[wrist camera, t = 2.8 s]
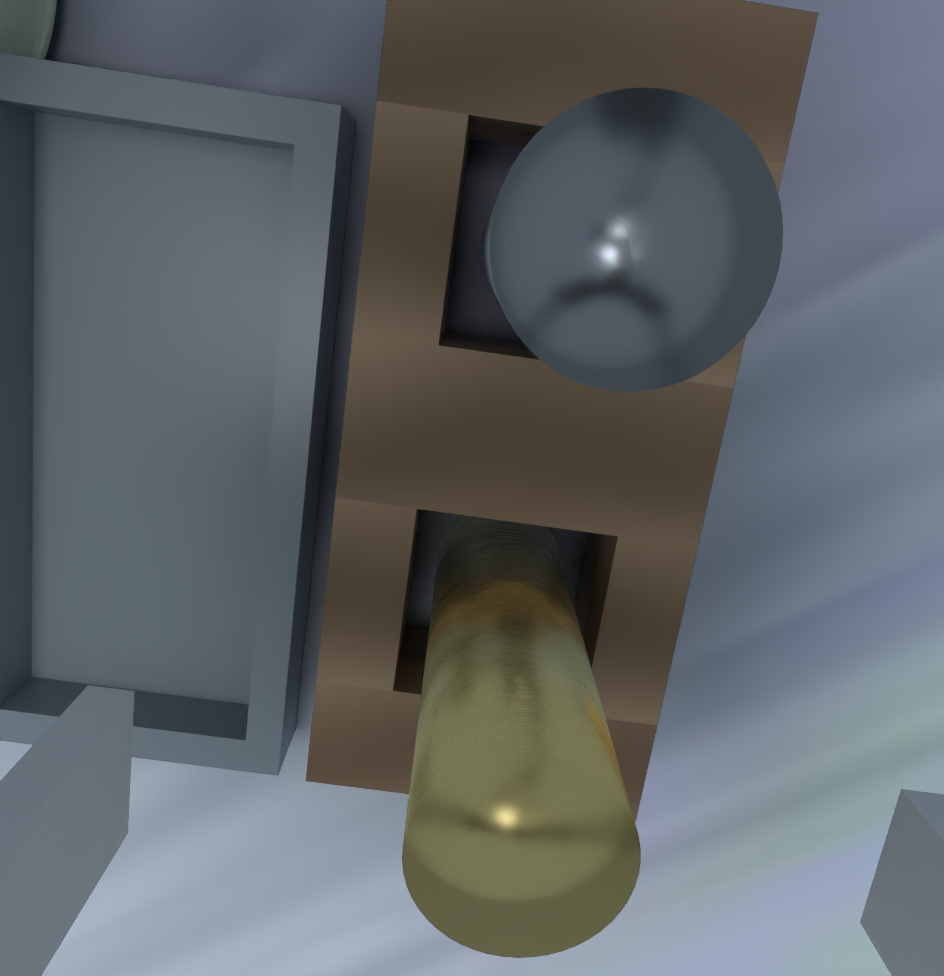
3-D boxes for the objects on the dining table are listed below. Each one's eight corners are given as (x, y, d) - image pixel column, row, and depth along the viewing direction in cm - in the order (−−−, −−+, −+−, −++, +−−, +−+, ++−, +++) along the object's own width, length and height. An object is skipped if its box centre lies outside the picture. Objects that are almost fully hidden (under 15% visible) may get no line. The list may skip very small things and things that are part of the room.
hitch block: (407, 0, 21) (393, -56, 17) (757, 55, 22) (818, 12, 18) (329, 704, 27) (305, 781, 23) (612, 741, 27) (635, 822, 23)
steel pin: (492, 171, 22) (513, 64, 10) (626, 191, 23) (814, 112, 10) (472, 308, 23) (470, 370, 11) (601, 327, 24) (746, 409, 11)
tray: (7, 68, 22) (-51, 45, 19) (355, 121, 22) (341, 105, 20) (8, 691, 27) (-38, 735, 24) (295, 728, 27) (278, 775, 24)
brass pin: (446, 494, 25) (418, 740, 12) (567, 511, 25) (662, 771, 12) (430, 607, 26) (389, 943, 13) (547, 623, 26) (616, 969, 13)
